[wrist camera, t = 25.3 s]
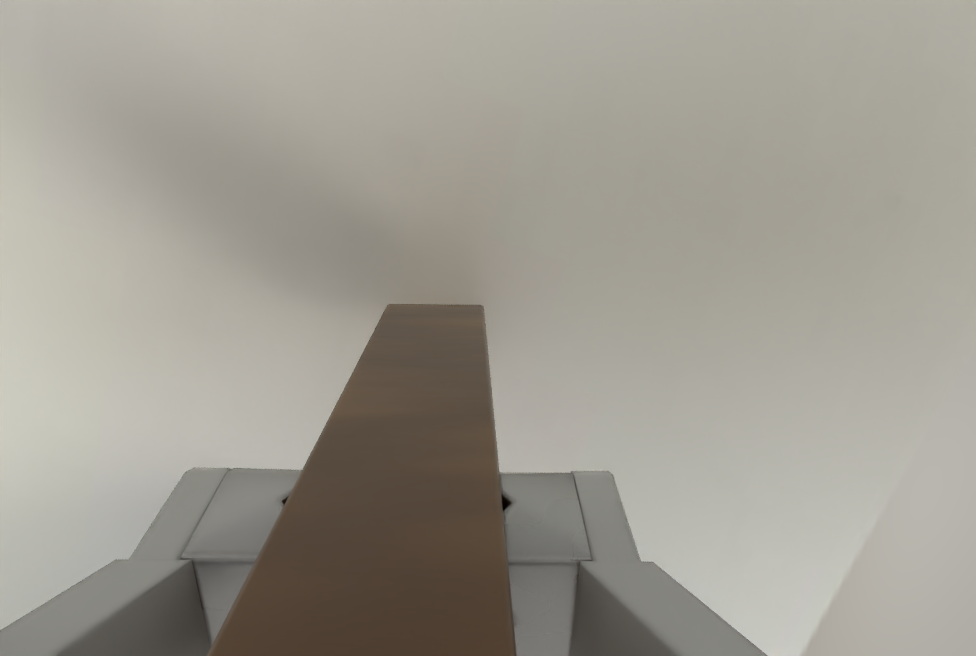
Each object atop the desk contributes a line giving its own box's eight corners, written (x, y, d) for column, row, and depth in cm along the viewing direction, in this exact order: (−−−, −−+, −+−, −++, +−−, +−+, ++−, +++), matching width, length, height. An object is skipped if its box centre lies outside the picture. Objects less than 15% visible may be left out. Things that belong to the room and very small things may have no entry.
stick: (483, 303, 16) (560, 1088, 3) (482, 394, 17) (538, 1390, 3) (386, 303, 16) (-37, 1104, 3) (389, 394, 17) (61, 1411, 3)
